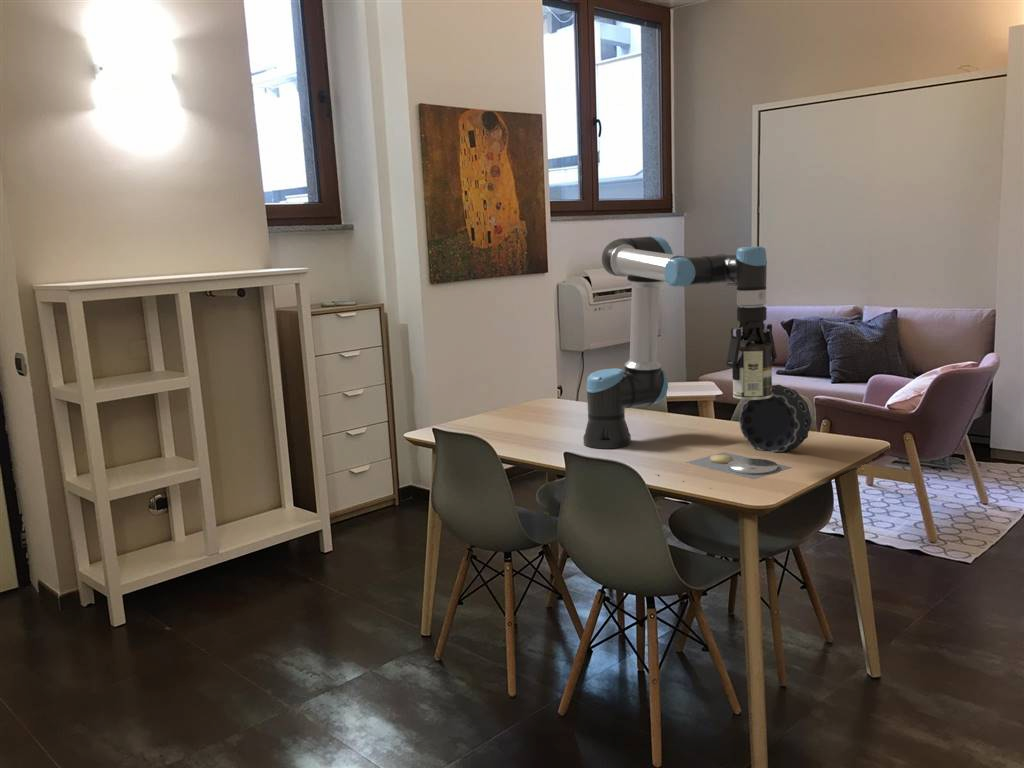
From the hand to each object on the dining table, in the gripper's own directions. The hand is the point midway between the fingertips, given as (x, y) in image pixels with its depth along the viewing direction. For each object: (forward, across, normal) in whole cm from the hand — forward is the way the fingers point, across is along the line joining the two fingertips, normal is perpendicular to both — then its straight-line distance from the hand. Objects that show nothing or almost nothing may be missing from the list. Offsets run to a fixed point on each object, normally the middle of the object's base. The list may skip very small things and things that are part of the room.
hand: (752, 389), depth 234 cm
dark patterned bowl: (+24, +22, +10) cm, 34 cm away
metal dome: (+22, 0, 0) cm, 22 cm away
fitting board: (+23, 0, +5) cm, 24 cm away
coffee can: (+2, 0, 0) cm, 2 cm away
